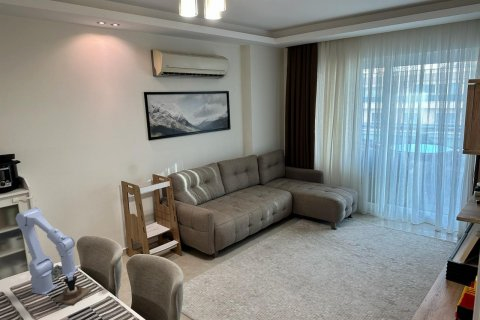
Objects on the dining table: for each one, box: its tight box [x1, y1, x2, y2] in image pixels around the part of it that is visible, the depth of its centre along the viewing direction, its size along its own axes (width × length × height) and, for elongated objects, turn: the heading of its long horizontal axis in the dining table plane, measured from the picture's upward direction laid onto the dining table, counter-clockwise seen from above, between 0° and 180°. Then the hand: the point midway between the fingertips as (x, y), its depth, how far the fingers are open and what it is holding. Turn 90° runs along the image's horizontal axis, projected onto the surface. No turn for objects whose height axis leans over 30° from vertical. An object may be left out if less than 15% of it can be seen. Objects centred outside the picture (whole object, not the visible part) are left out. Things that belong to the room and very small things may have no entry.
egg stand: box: [53, 284, 92, 306], centre depth 161 cm, size 12×12×4 cm
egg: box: [67, 287, 77, 294], centre depth 161 cm, size 5×5×5 cm
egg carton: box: [51, 264, 64, 281], centre depth 181 cm, size 11×8×4 cm
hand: (71, 286), depth 161 cm, fingers open, 7 cm apart
